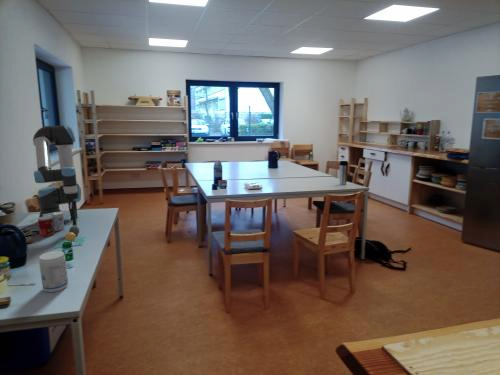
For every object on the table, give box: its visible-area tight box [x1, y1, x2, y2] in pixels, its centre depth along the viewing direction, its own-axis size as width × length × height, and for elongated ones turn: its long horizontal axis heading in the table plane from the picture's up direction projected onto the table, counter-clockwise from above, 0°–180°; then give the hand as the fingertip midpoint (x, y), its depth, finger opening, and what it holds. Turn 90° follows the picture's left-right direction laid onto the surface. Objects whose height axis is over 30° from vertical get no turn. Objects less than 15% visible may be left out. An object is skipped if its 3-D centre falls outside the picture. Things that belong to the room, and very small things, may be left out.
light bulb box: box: [43, 211, 65, 232], centre depth 227 cm, size 11×7×11 cm, turn 131°
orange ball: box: [64, 232, 77, 242], centre depth 206 cm, size 6×6×6 cm
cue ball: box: [68, 225, 80, 235], centre depth 217 cm, size 6×6×6 cm
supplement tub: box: [38, 250, 69, 293], centre depth 150 cm, size 10×10×15 cm
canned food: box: [37, 216, 56, 238], centre depth 218 cm, size 8×8×11 cm
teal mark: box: [54, 236, 86, 249], centre depth 205 cm, size 14×14×1 cm
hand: (75, 229), depth 222 cm, fingers closed
